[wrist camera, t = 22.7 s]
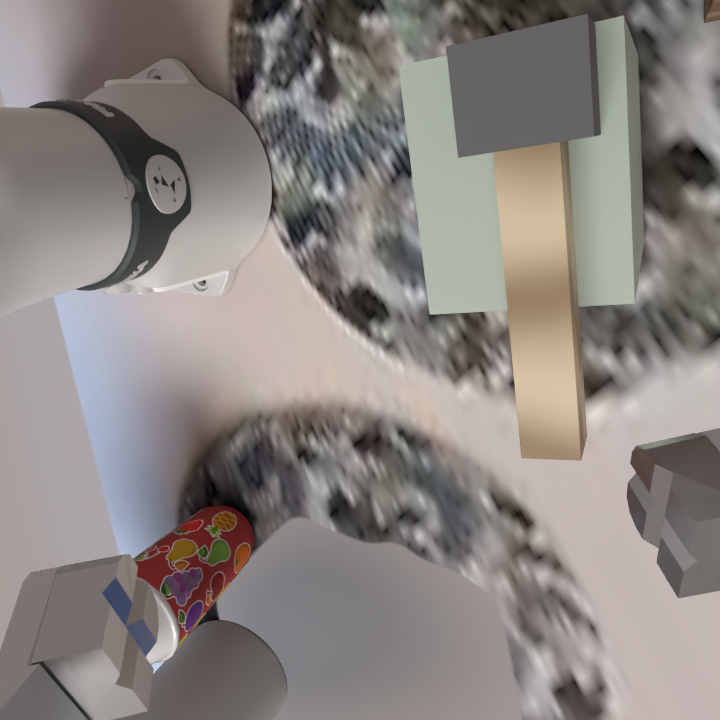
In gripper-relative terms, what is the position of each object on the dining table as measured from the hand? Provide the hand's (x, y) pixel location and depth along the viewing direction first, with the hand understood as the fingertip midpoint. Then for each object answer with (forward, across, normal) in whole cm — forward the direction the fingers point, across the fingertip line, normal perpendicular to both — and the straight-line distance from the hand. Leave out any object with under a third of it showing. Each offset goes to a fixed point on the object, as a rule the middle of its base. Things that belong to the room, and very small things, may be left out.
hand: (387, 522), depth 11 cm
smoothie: (+38, -15, -42) cm, 58 cm away
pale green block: (+33, +16, -9) cm, 38 cm away
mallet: (+18, +9, -6) cm, 21 cm away
